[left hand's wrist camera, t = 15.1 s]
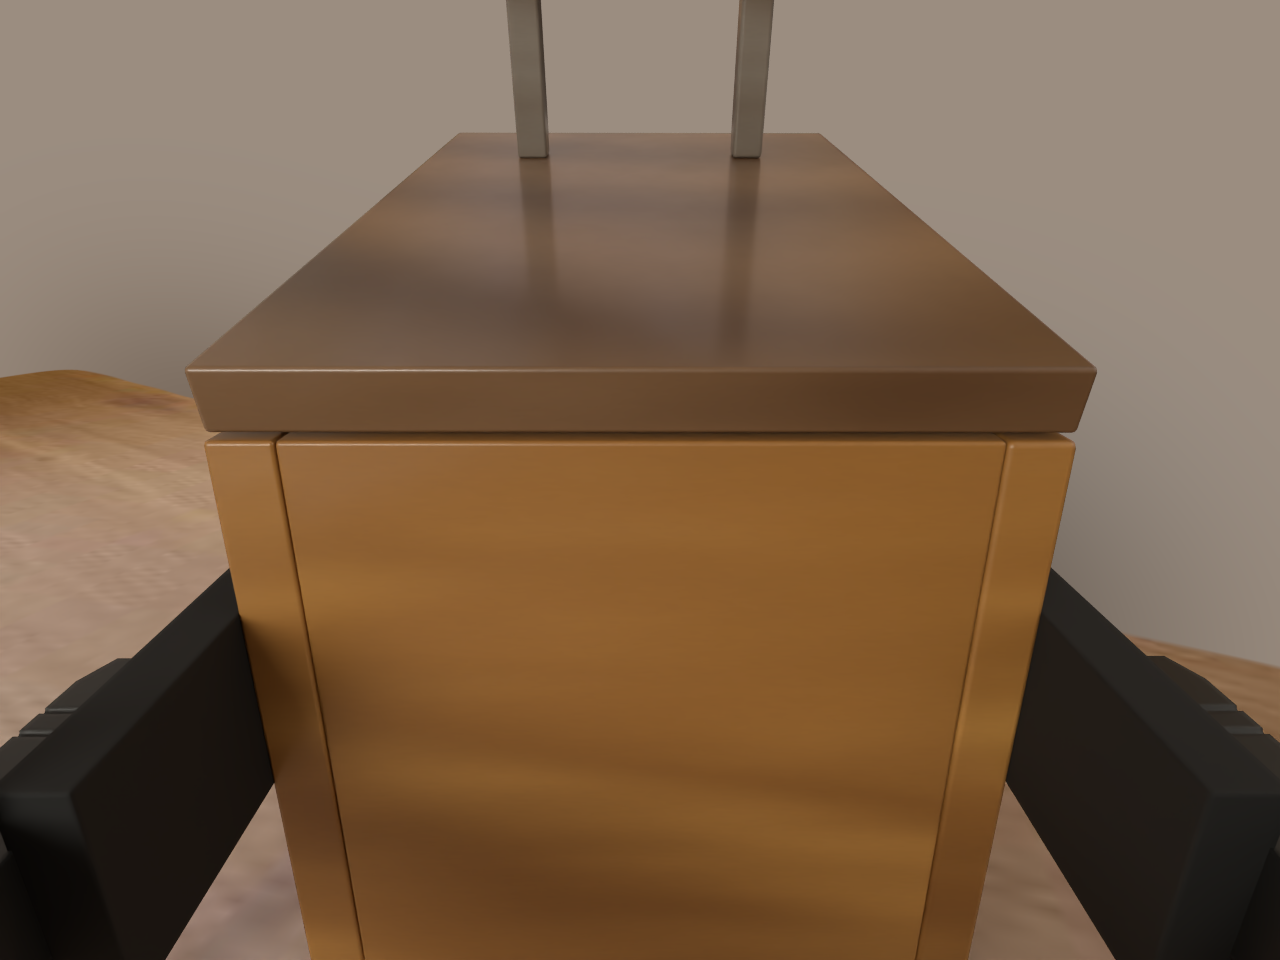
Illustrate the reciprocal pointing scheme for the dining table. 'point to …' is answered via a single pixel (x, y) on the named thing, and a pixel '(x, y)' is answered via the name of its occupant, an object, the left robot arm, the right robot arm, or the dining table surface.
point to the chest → (639, 683)
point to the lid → (640, 294)
